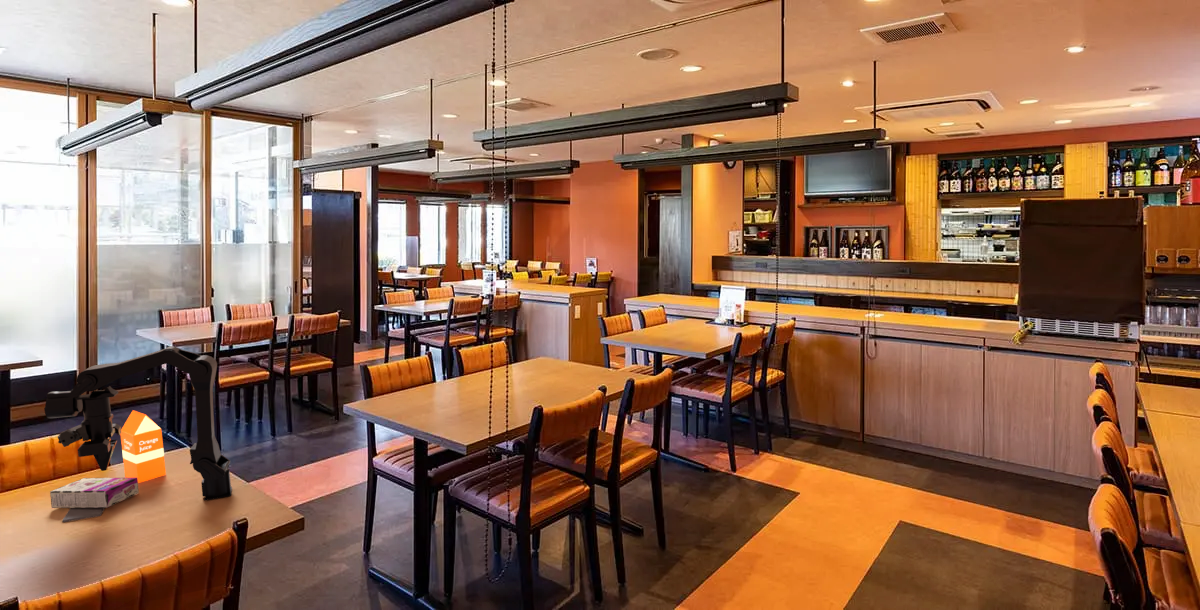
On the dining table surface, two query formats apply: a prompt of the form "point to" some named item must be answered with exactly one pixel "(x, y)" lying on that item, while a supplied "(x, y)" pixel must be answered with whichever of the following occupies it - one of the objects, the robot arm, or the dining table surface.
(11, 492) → the dining table surface
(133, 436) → the orange juice
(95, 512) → the mat
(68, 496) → the candy bar box
